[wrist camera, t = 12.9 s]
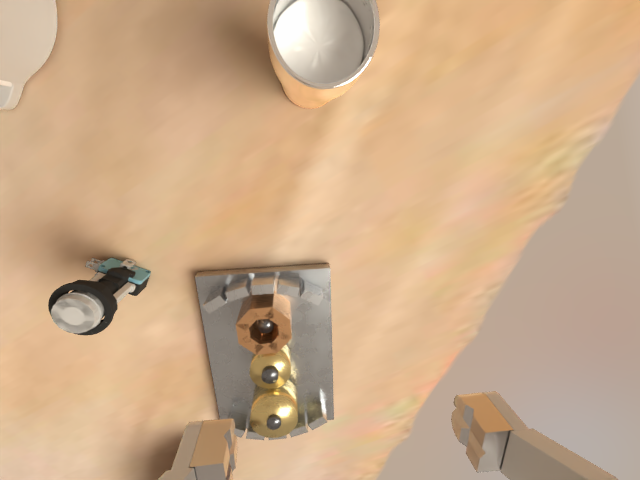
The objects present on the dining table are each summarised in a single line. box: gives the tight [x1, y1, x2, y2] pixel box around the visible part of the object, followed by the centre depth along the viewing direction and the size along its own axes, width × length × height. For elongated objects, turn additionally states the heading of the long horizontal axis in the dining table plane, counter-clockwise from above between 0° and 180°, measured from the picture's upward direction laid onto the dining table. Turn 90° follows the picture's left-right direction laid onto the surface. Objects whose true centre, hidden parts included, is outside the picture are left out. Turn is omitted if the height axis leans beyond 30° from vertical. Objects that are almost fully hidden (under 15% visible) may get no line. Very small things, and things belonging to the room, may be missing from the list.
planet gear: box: [236, 290, 292, 355], centre depth 36 cm, size 6×6×4 cm
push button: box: [48, 258, 151, 335], centre depth 32 cm, size 7×5×10 cm
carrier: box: [195, 263, 334, 440], centre depth 39 cm, size 16×24×6 cm, turn 2°
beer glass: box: [267, 0, 380, 109], centre depth 25 cm, size 7×7×15 cm
